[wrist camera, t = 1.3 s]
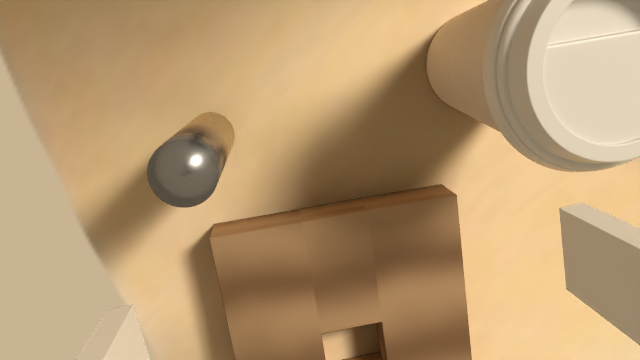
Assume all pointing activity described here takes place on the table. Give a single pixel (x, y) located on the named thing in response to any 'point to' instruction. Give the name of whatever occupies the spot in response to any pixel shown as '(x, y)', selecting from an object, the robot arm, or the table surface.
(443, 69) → the coffee cup
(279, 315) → the hole board
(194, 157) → the pin
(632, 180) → the table surface
